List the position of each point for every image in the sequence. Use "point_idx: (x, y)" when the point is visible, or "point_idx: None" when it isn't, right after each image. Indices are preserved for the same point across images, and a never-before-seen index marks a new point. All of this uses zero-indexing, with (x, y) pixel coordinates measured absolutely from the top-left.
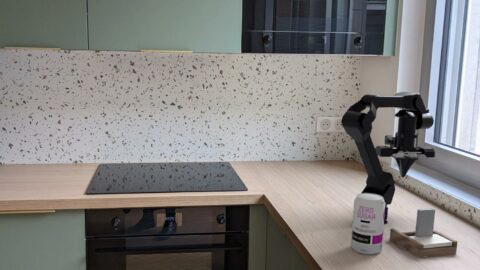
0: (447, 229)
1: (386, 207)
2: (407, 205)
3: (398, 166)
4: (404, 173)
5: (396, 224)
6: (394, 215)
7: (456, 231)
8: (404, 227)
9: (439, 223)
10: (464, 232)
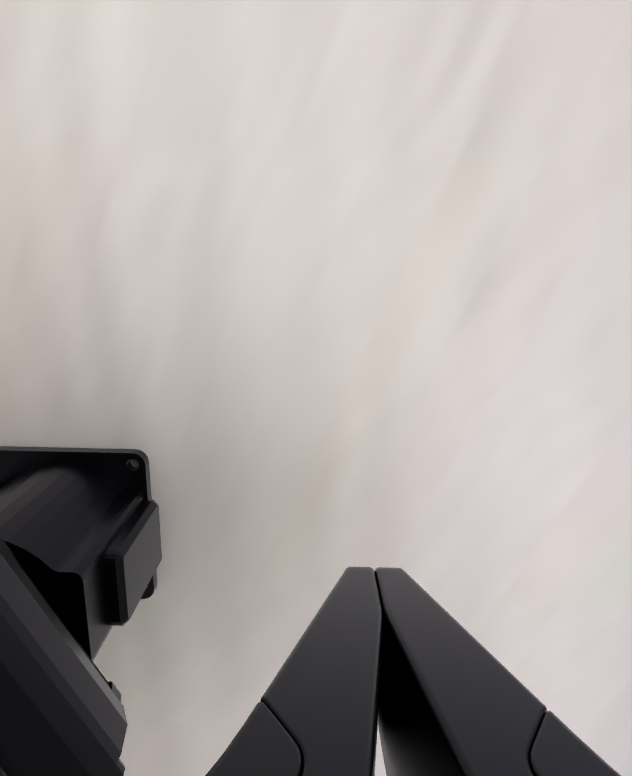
0: None
1: (104, 637)
2: (590, 70)
3: (253, 734)
4: (379, 729)
5: (218, 604)
6: (294, 400)
7: None
8: (251, 661)
9: (567, 596)
10: (623, 760)
